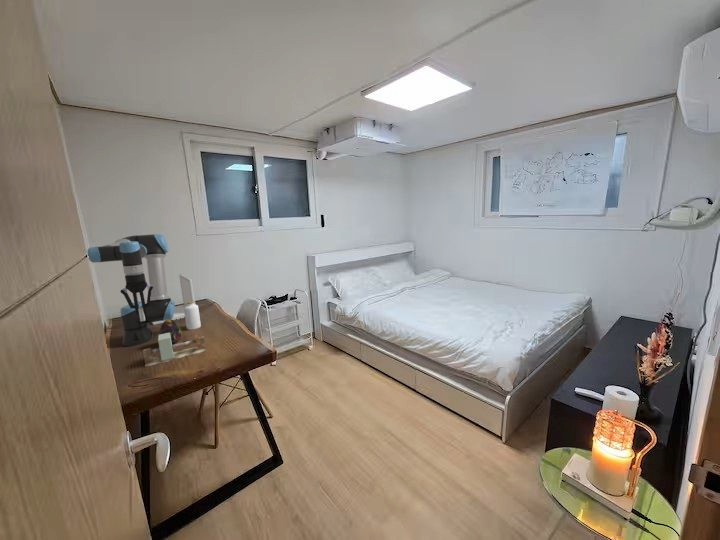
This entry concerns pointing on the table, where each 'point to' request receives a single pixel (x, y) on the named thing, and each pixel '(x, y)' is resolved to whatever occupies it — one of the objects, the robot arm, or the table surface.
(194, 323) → the potion bottle
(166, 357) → the block
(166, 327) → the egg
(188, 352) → the rail
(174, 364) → the table surface
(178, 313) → the laptop
